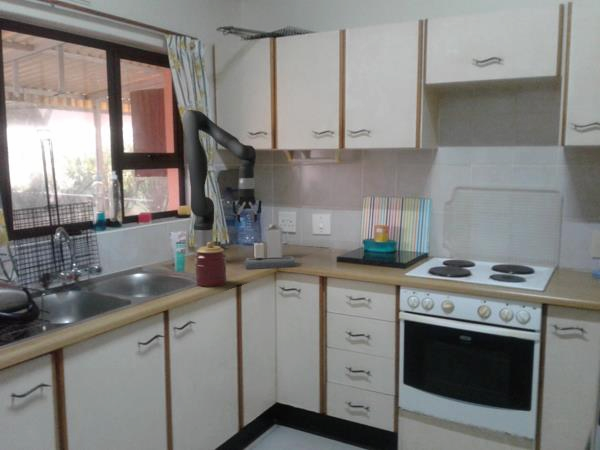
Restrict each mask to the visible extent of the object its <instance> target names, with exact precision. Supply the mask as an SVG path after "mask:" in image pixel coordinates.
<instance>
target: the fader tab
mask: <svg viewBox="0 0 600 450" xmlns="http://www.w3.org/2000/svg"><path fill="white" fill-rule="evenodd" d="M253 245H254V246H253V247H254V248H253V250H254V251H253V253H254V254H253V255H254V258H256V260H262V258H265V253H264V252H265V249H264V246H265V245H264V243H263V242H256V243H255V242H254V244H253Z"/></svg>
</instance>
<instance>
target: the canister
mask: <svg viewBox="0 0 600 450" xmlns="http://www.w3.org/2000/svg"><path fill="white" fill-rule="evenodd" d="M224 251H225V249H224V248H222V247H221V246H219V245H214V242H213V243H212V242H208V243H207V246H203V247H200V248H199V249H198V250H197V252H198V253H197V255H195V254H194V259H195V258H196V263H195V262H194V266H195V271H194V272H195V278H194V279H195V280H194V281H195V284H196V285H197V286H200V287H208V288H209V287H219V286H224V285H225V284H226V283H227V279H228V278H227V262H226V257H227V255H226V253H224Z"/></svg>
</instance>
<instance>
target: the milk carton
mask: <svg viewBox="0 0 600 450" xmlns="http://www.w3.org/2000/svg"><path fill="white" fill-rule="evenodd" d="M268 227H269V228H268V229H267V235H266V236H267V237H266V239H267V241H266V242H267V243H266V244H267V247H266V248H267V257H284V255H283V252H284V251H283V250H284V249H283V247H284V246H283V243H284V242H283V228H282V227H281V226H280V225H279V224H278V223H277V220H275V221H274V222H273V223H270V224H269V225H268Z"/></svg>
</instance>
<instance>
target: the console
mask: <svg viewBox="0 0 600 450" xmlns="http://www.w3.org/2000/svg"><path fill="white" fill-rule="evenodd" d="M295 260H296V258H295V257H293V255H292V256H291V255H290V256H282V257H268V256H267V257H264V258H262V260H256V258H255V257H250V258H249V257H247V258H245V260H243V266H244V268H245V270H260V269H262V270H263V269H281V268H283V269H285V268H296V267H297V262H296V261H295Z"/></svg>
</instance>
